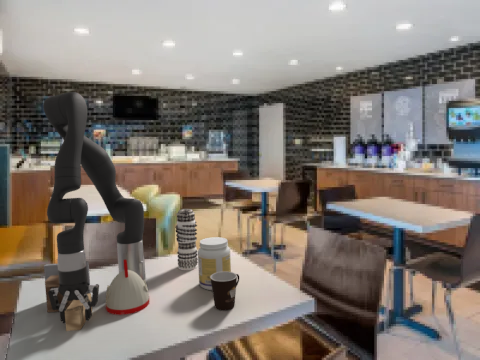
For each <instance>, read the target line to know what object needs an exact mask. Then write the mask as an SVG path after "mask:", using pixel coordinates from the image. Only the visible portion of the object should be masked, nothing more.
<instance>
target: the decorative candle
mask: <svg viewBox="0 0 480 360" xmlns="http://www.w3.org/2000/svg"><path fill="white" fill-rule="evenodd" d="M195 214H196V212H194V210H193V209H191V208H181V209H178V211H177V212H176V213H175V215H176V225H175V233H176V234H175V235H176V242H177V246H178V247H177V252H176V253H177V269H179V270H181V271H193V270H195V269H197V268H198V250H197V243H196V242H197V239H198V237H196V235H198V233H197V231H198V229H197V228H196V227H198V224H197V221H196V217H195Z"/></svg>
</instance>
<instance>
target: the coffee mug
mask: <svg viewBox="0 0 480 360" xmlns="http://www.w3.org/2000/svg"><path fill="white" fill-rule="evenodd" d="M210 278H211V285H212V290H211V291H212V297H213V303H214V304H213V305H214V308H215V309H216V310H217V311H218V310H219V311H230V310H232V309H234V308H235V306H236V304H235V302H236V293H237V287H238V285H239V282H240V275H239V274H238V273H235V272H233V271H231V272H217V273H214V274H212V275H211V276H210Z"/></svg>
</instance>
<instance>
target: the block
mask: <svg viewBox="0 0 480 360" xmlns="http://www.w3.org/2000/svg"><path fill="white" fill-rule="evenodd" d="M44 286H45V298H46V309H47V313H53V312H54V313H55V312H60V311H59V310H53V309H52V306H51V302H50V299H49V295H48V292H49V290H50V289H51V288H59V275H53V276H50V277H49V278H48V279H47V280H46V281H44ZM57 297H58V301H59V304H61V302H62V300H63V296H62V295H61V294H60V293H59V292H58V294H57ZM72 301H73V300H72ZM72 301H68V302H67V305H66V308H68V307H69V305H70V304H71V303H72Z"/></svg>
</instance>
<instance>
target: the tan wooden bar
mask: <svg viewBox="0 0 480 360" xmlns="http://www.w3.org/2000/svg"><path fill="white" fill-rule="evenodd" d="M87 295H88V297H89V300H90V301H92V293H89V294H87ZM85 309H86V308H85V307H84V305H83V304H82V303H81V302H80V300H73V301H72V303H71V304H70V305H69V307H68V308H67V309H66V311H65V322H66V323H65V332H70V331H81V330H82V328H83V327H84V325H85V324H86V322H87V321H86V320H85ZM91 310H92V311H93V307H91Z"/></svg>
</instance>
